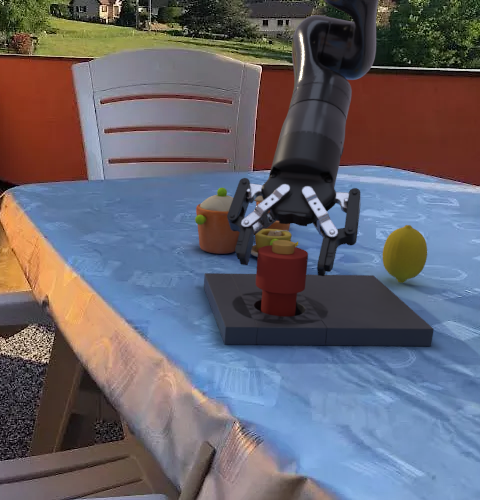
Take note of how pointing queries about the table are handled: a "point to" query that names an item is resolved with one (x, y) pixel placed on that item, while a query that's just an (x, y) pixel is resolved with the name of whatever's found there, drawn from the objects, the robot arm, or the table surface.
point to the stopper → (281, 276)
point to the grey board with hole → (316, 313)
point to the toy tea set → (220, 234)
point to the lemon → (404, 253)
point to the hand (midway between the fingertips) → (281, 267)
